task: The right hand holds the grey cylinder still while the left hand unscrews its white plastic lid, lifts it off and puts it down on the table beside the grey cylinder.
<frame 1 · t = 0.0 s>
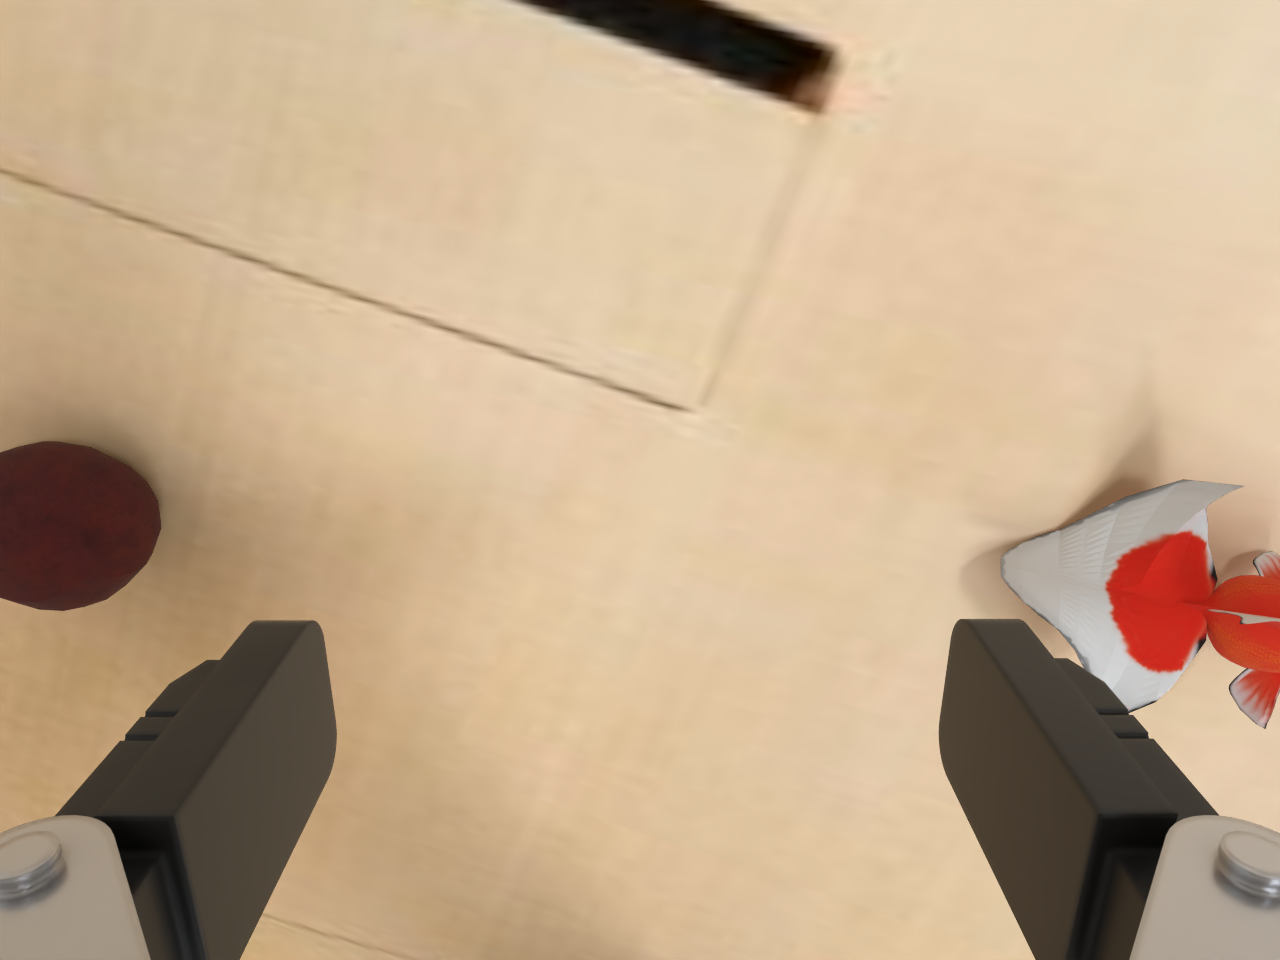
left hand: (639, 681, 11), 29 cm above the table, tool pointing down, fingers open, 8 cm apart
fish: (1139, 571, 43), on the table
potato: (107, 494, 42), on the table
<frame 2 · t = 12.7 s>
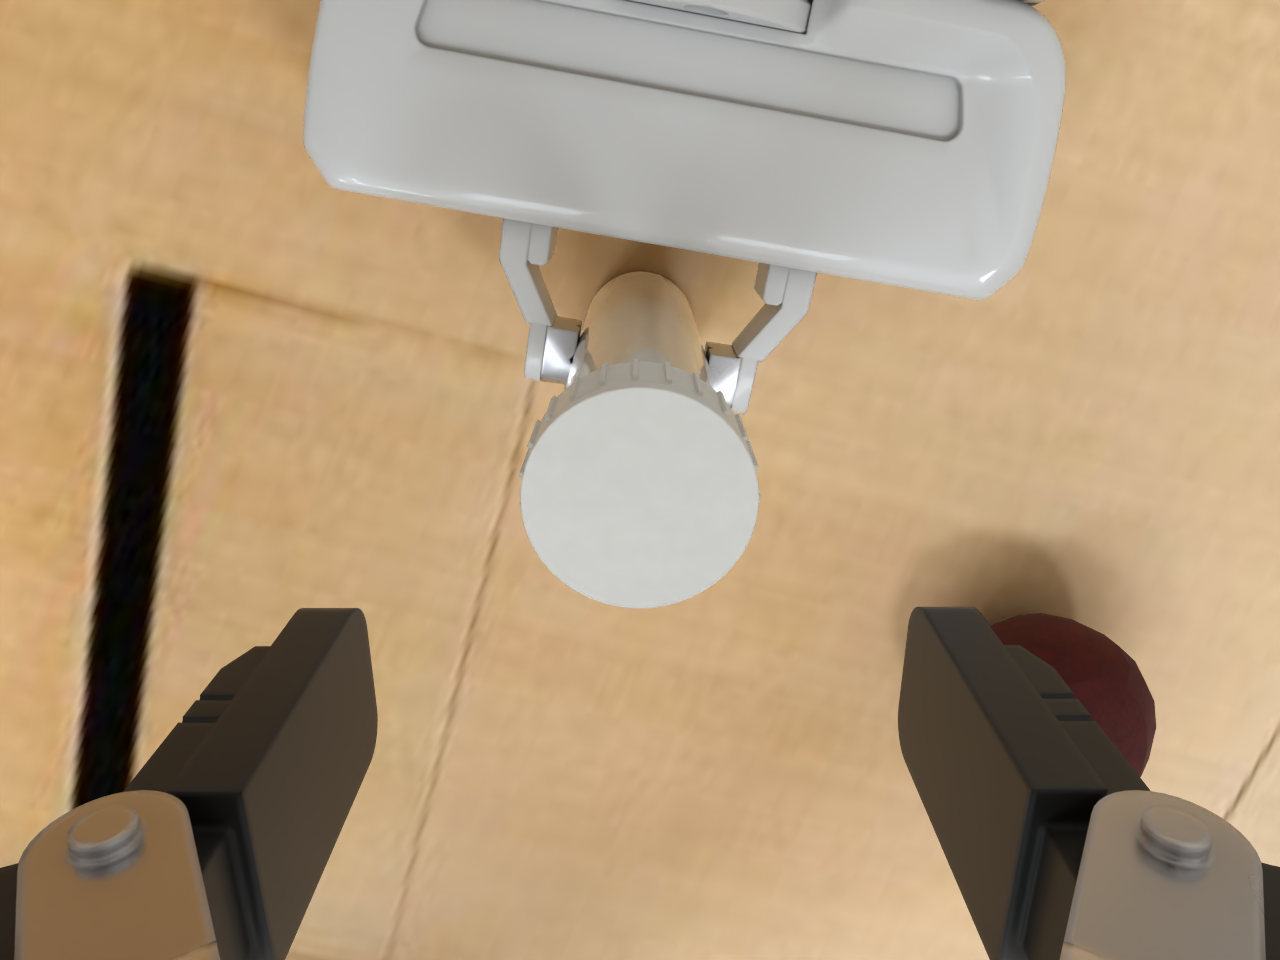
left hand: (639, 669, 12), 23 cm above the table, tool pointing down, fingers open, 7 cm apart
right hand: (636, 392, 28), fingers closed on grey cylinder, 4 cm apart
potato: (1009, 663, 39), on the table
lid: (639, 496, 17), point 17 cm above the table, screwed on, not yet turned
grey cylinder: (640, 326, 34), on the table, touching right hand
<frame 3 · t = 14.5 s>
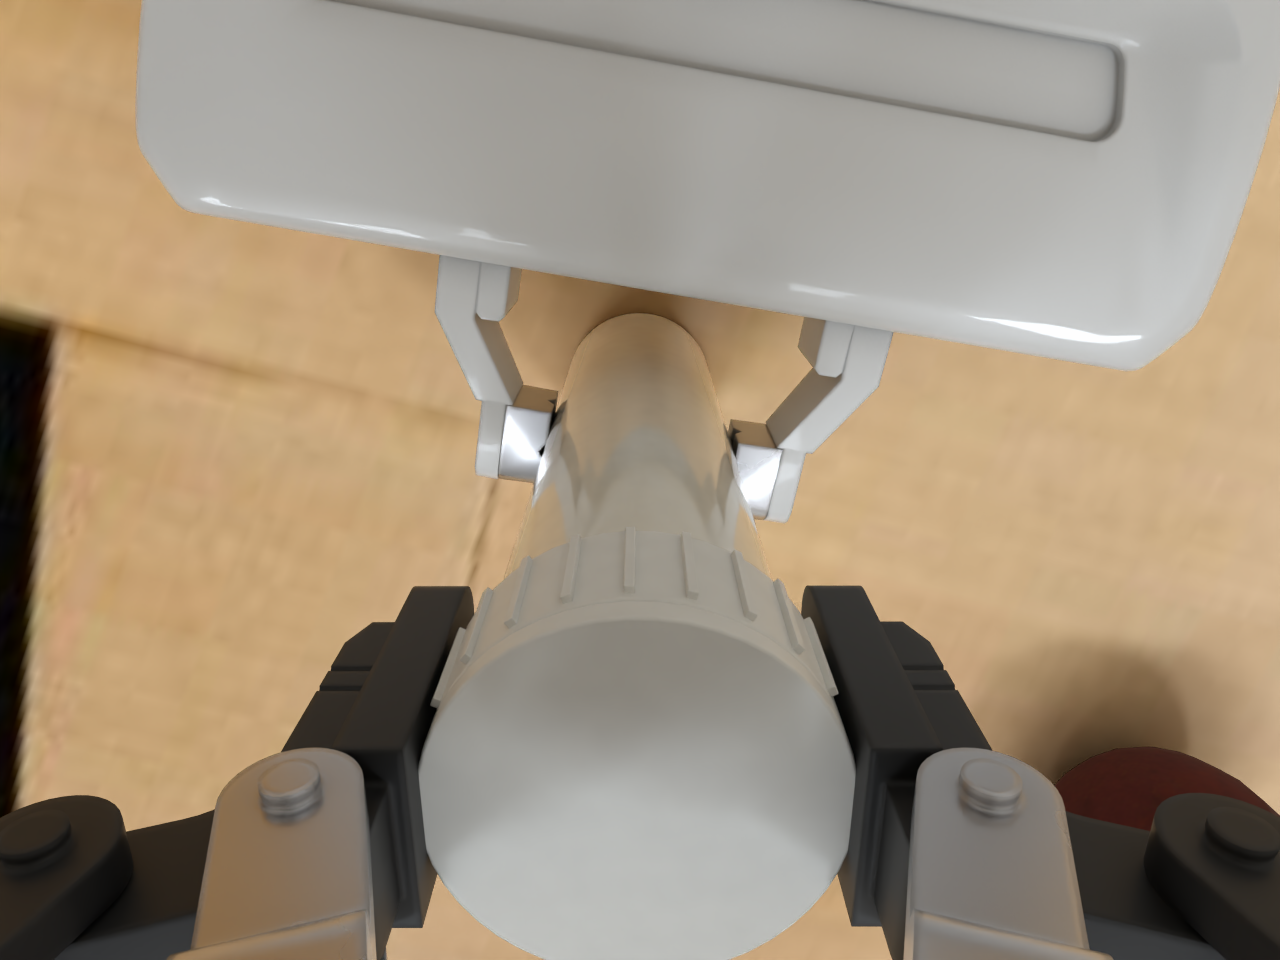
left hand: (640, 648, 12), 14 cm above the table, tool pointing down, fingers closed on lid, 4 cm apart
right hand: (633, 491, 20), fingers closed on grey cylinder, 4 cm apart
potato: (1103, 797, 31), on the table
lid: (637, 790, 10), point 17 cm above the table, screwed on, not yet turned, touching left hand
grey cylinder: (638, 383, 26), on the table, touching right hand
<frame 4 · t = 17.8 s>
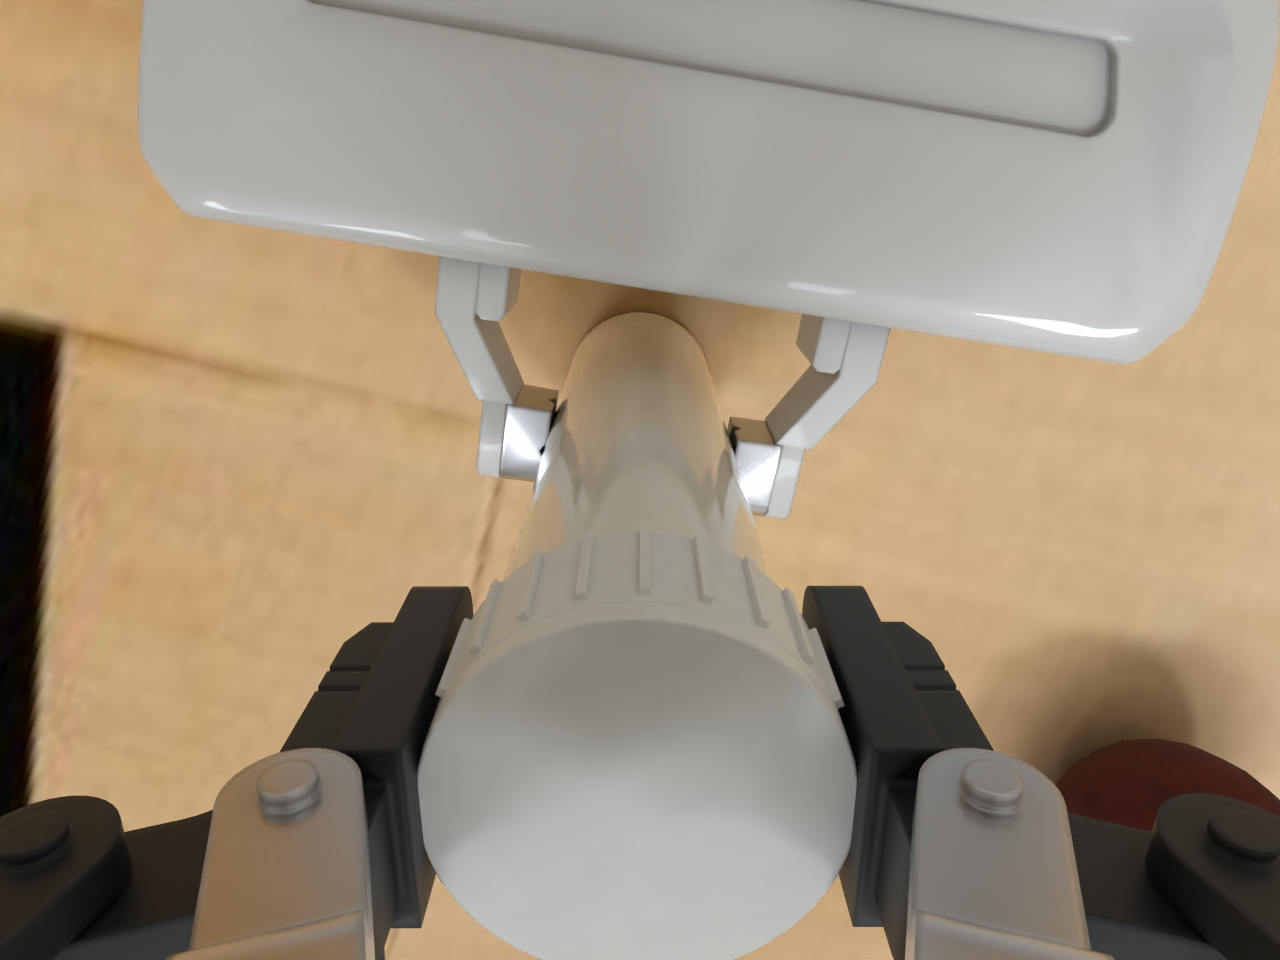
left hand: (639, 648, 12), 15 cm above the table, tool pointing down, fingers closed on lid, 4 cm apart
right hand: (634, 489, 20), fingers closed on grey cylinder, 4 cm apart
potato: (1109, 790, 31), on the table
lid: (637, 791, 10), point 17 cm above the table, turned 58° so far, risen 0.2 cm, still on its thread, touching left hand
grey cylinder: (639, 381, 26), on the table, touching right hand
when the left hand's fingers open (0 cm above the table, at t = 24.5 s): lid drops 2 cm, point 2 cm above the table.
when the right hand's fingers open (6 cm above the table, at t = 25.6 s): grey cylinder stays where it is, on the table.
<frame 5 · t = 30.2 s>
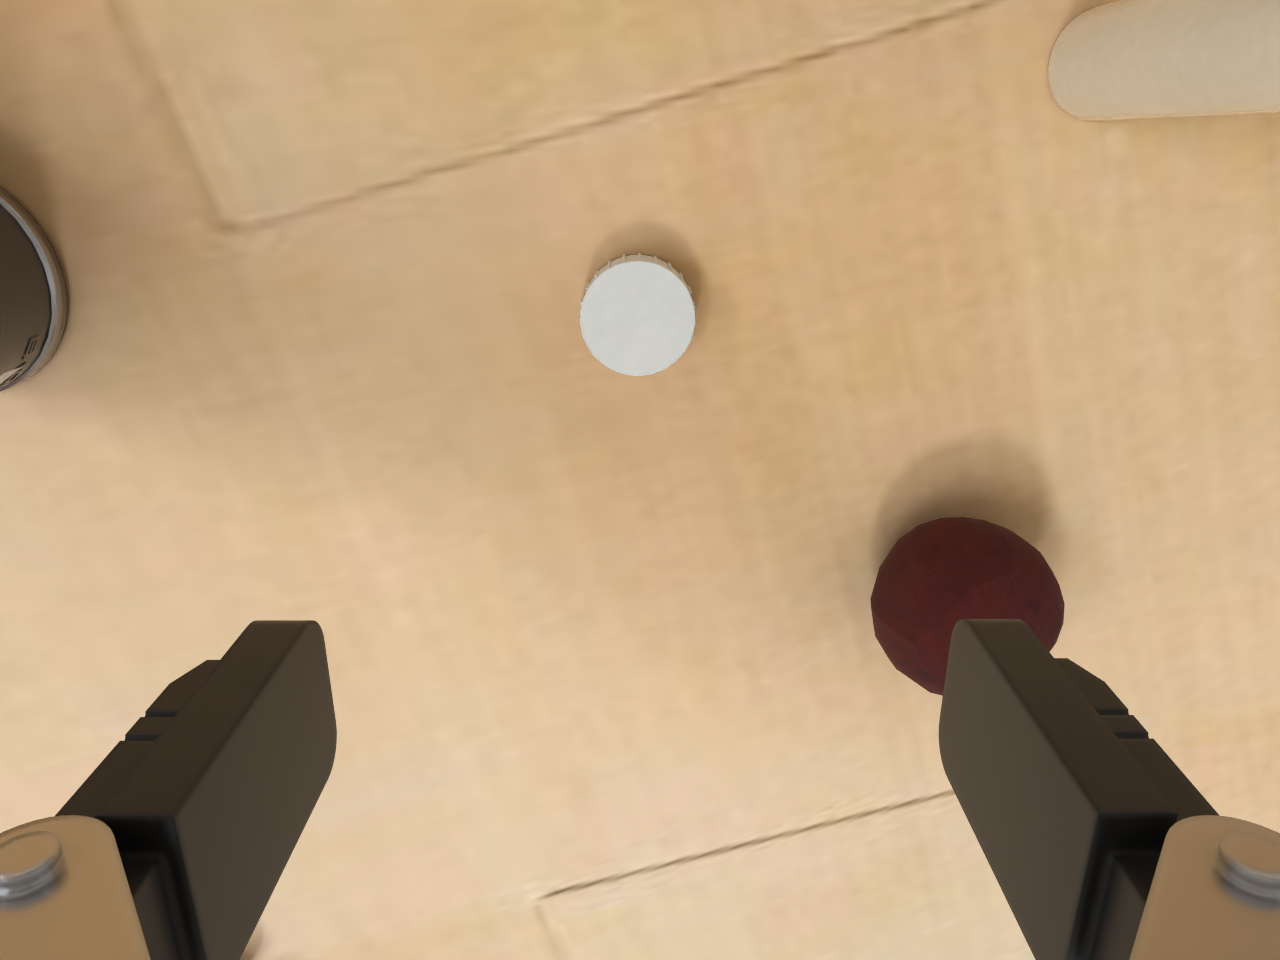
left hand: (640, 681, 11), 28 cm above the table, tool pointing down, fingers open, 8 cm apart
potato: (934, 567, 42), on the table
lid: (637, 318, 36), point 2 cm above the table, off its thread
grey cylinder: (1100, 63, 34), on the table
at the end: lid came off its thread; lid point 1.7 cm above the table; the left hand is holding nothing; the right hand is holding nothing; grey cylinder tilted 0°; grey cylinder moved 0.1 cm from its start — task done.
